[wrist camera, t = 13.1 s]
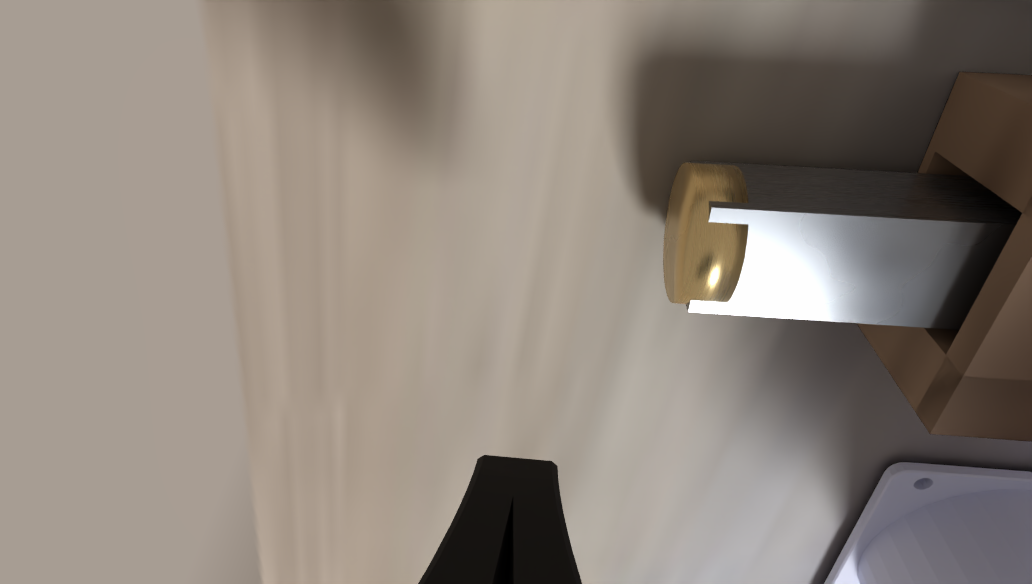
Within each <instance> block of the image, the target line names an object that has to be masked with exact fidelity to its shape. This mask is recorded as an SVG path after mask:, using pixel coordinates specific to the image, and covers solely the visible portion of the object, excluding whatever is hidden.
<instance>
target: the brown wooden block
mask: <svg viewBox="0 0 1032 584" xmlns="http://www.w3.org/2000/svg"><path fill="white" fill-rule="evenodd" d="M918 173H925V174H943V175H961V176H971V177H972V178H974V179H975V180H976V181H978V182H979V183H981V184H982V185H984V186H985V187H986V188H988V189H989V190H991V191H992V192H994V193H995V194H996V195H998V196H999V197H1001V198H1002V199H1003V200H1005V201H1006V202H1008V203H1009V204H1011V205H1012V206H1013V207H1015V208H1016V209H1018V210H1019V211H1020V212H1022V215H1021V217H1020V218H1019V220H1018V222H1017V224H1016V226H1015V228H1014V230H1013V231H1012V233H1011V235H1010V237H1009V239H1008V241H1007V243H1006V244H1005V246H1004V248H1003V250H1002V252H1001V254H1000V256H999V257H998V259H997V261H996V263H995V265H994V267H993V269H992V270H991V272H990V274H989V276H988V278H987V280H986V282H985V283H984V285H983V287H982V289H981V291H980V293H979V295H978V296H977V298H976V300H975V302H974V304H973V306H972V308H971V309H970V311H969V313H968V315H967V317H966V319H965V321H964V322H963V324H962V326H961V328H960V330H952V329H937V328H922V327H907V326H892V325H877V324H861V323H857V325H858V326H859V328H860V329H861V331H862V332H863V334H864V335H865V337H866V338H867V340H868V341H869V343H870V344H871V346H872V347H873V349H874V350H875V352H876V353H877V355H878V356H879V358H880V359H881V361H882V362H883V364H884V365H885V367H886V368H887V370H888V371H889V373H890V374H891V376H892V378H893V379H894V381H895V382H896V384H897V385H898V387H899V388H900V390H901V391H902V393H903V394H904V396H905V397H906V399H907V400H908V402H909V403H910V405H911V406H912V408H913V409H914V411H915V412H916V414H917V415H918V417H919V418H920V420H921V421H922V423H923V424H924V426H925V427H926V429H927V430H928V432H929V433H930V434H938V435H951V436H964V437H978V438H991V439H1005V440H1018V441H1032V75H1018V74H997V73H975V72H959V74H958V77H957V79H956V82H955V84H954V86H953V89H952V91H951V94H950V96H949V98H948V101H947V103H946V106H945V108H944V110H943V113H942V115H941V118H940V120H939V122H938V125H937V127H936V130H935V132H934V134H933V137H932V139H931V142H930V144H929V146H928V149H927V151H926V154H925V156H924V158H923V161H922V163H921V166H920V168H919V170H918Z"/></svg>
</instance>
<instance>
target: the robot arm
mask: <svg viewBox="0 0 1032 584" xmlns="http://www.w3.org/2000/svg"><path fill="white" fill-rule="evenodd" d="M418 584H582V582H581V579H580V575H579V572H578V569H577V565H576V562H575V558H574V555H573V551H572V548H571V544H570V540H569V536H568V532H567V527H566V523H565V518H564V514H563V509H562V503H561V497H560V491H559V483H558V469H557V466H556V465H555V464H554V463H553V462H552V461H544V460H533V459H522V458H511V457H500V456H489V455H484V456H482V457H480V458H479V459H478V460H477V463H476V467H475V470H474V473H473V475H472V478H471V481H470V483H469V486H468V488H467V491H466V493H465V495H464V498H463V500H462V502H461V504H460V506H459V509H458V511H457V513H456V515H455V517H454V519H453V521H452V523H451V525H450V527H449V529H448V531H447V533H446V535H445V537H444V538H443V540H442V542H441V544H440V546H439V548H438V550H437V552H436V554H435V555H434V557H433V559H432V561H431V563H430V565H429V566H428V568H427V570H426V572H425V573H424V575H423V577H422V578H421V580H420V582H419V583H418ZM824 584H1032V472H1028V471H1015V470H1002V469H989V468H976V467H963V466H950V465H937V464H924V463H911V462H899V463H896V464H893V465H891V466H890V467H888V468H887V469H886V471H885V472H884V474H883V475H882V477H881V479H880V481H879V483H878V485H877V487H876V488H875V490H874V492H873V494H872V496H871V498H870V499H869V501H868V503H867V505H866V507H865V509H864V511H863V512H862V514H861V516H860V518H859V520H858V522H857V524H856V525H855V527H854V529H853V531H852V533H851V535H850V537H849V538H848V540H847V542H846V544H845V546H844V548H843V549H842V551H841V553H840V555H839V557H838V559H837V561H836V562H835V564H834V566H833V568H832V570H831V572H830V574H829V575H828V577H827V579H826V581H825V583H824Z"/></svg>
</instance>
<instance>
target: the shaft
mask: <svg viewBox="0 0 1032 584" xmlns="http://www.w3.org/2000/svg"><path fill="white" fill-rule="evenodd" d="M1021 215H1022V212H1020V211H1019V210H1018V209H1016V208H1015V207H1013V206H1012V205H1011V204H1009V203H1008V202H1006V201H1005V200H1003V199H1002V198H1001V197H999V196H998V195H996V194H995V193H994V192H992V191H991V190H989V189H988V188H986V187H985V186H984V185H982V184H981V183H979V182H978V181H976V180H975V179H974V178H972V177H971V176H961V175H943V174H925V173H906V172H888V171H870V170H851V169H833V168H814V167H796V166H778V165H759V164H741V163H723V162H704V161H691V162H690V163H683V164H682V165H681V166H680V168H679V170H678V172H677V174H676V177H675V180H674V183H673V186H672V190H671V194H670V199H669V204H668V210H667V216H666V224H665V235H664V254H663V265H664V281H665V288H666V293H667V296H668V298H669V300H670V302H672V303H679V304H686V306H687V310H688V312H695V313H711V314H726V315H741V316H756V317H771V318H786V319H801V320H816V321H831V322H846V323H861V324H877V325H892V326H907V327H922V328H937V329H952V330H960V328H961V326H962V324H963V322H964V321H965V319H966V317H967V315H968V313H969V311H970V309H971V308H972V306H973V304H974V302H975V300H976V298H977V296H978V295H979V293H980V291H981V289H982V287H983V285H984V283H985V282H986V280H987V278H988V276H989V274H990V272H991V270H992V269H993V267H994V265H995V263H996V261H997V259H998V257H999V256H1000V254H1001V252H1002V250H1003V248H1004V246H1005V244H1006V243H1007V241H1008V239H1009V237H1010V235H1011V233H1012V231H1013V230H1014V228H1015V226H1016V224H1017V222H1018V220H1019V218H1020V217H1021Z"/></svg>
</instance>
